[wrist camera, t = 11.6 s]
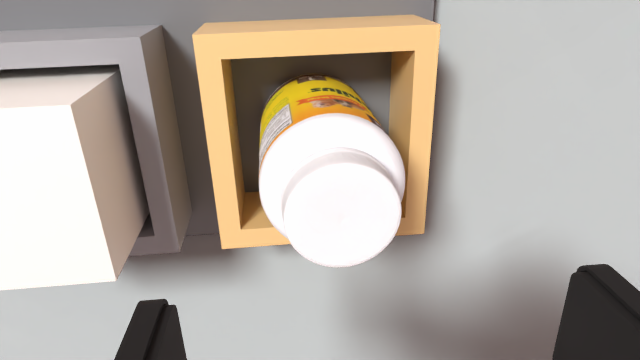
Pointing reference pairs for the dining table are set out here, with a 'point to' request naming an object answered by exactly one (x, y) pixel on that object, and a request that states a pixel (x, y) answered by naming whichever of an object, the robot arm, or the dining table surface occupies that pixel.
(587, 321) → the robot arm
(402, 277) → the dining table surface
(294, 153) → the supplement bottle
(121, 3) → the block sorting tray
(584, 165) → the dining table surface
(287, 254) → the dining table surface
